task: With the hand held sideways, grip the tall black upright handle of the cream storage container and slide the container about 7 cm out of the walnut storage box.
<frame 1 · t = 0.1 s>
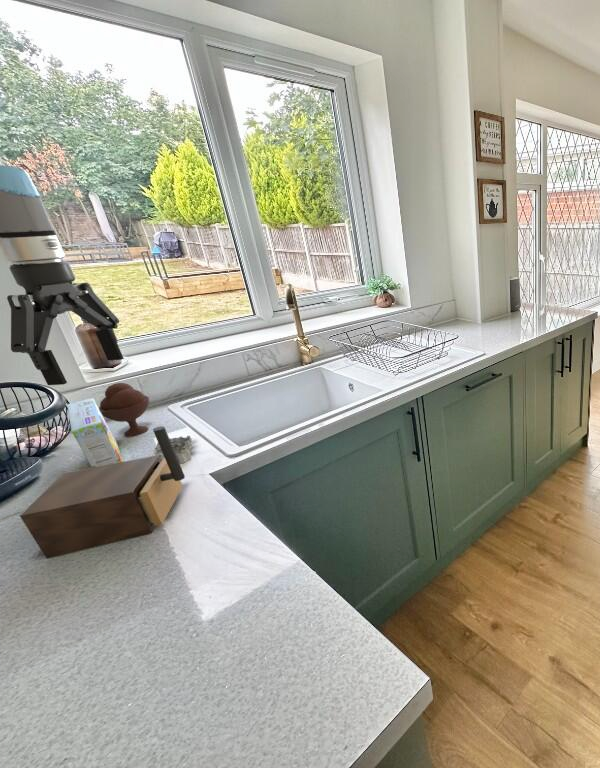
hand: (89, 371, 83), 29 cm above the worktop, tool pointing down, fingers open, 13 cm apart
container: (119, 476, 82), point 10 cm above the worktop, slide at 0.5 cm
snack box: (110, 465, 105), on the worktop
ice cream bowl: (136, 432, 121), on the worktop
storage box: (117, 522, 85), on the worktop
grey rock: (176, 457, 108), on the worktop
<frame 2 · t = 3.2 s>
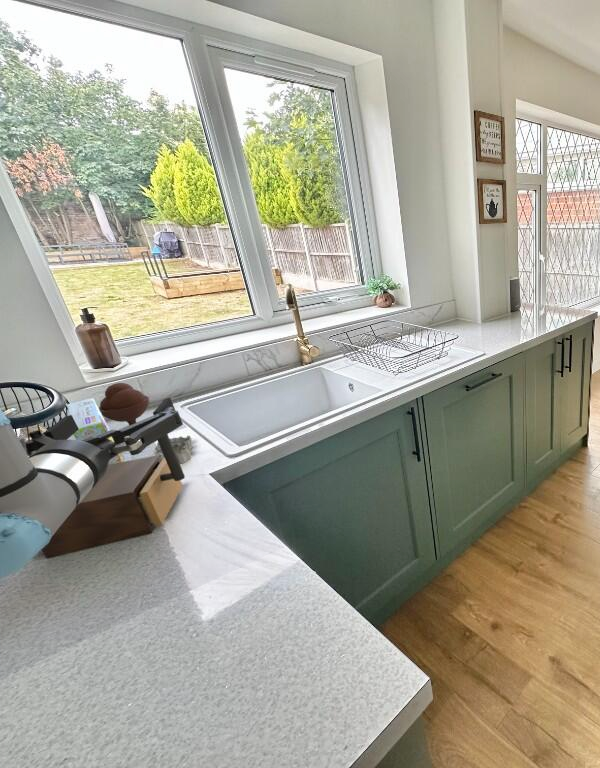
hand: (123, 413, 72), 26 cm above the worktop, tool horizontal, fingers open, 13 cm apart
nothing on the worktop moved.
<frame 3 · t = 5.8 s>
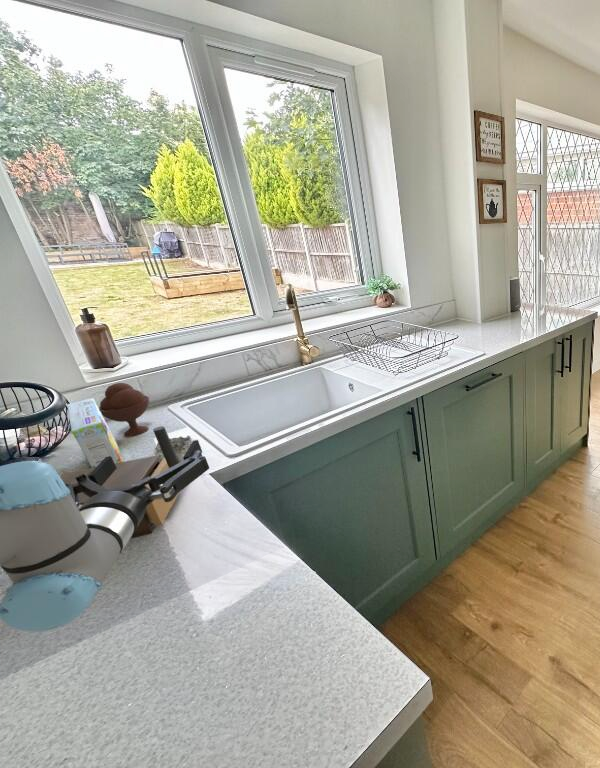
hand: (155, 454, 79), 16 cm above the worktop, tool horizontal, fingers open, 13 cm apart
nothing on the worktop moved.
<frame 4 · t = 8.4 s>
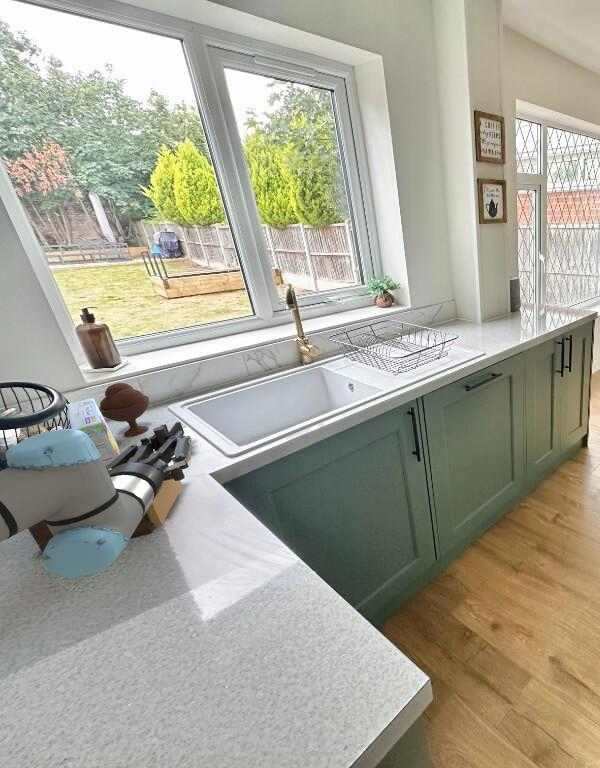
hand: (173, 429, 88), 16 cm above the worktop, tool horizontal, fingers closed on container, 2 cm apart
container: (119, 476, 82), point 10 cm above the worktop, slide at 0.5 cm, touching gripper
everything else where it was.
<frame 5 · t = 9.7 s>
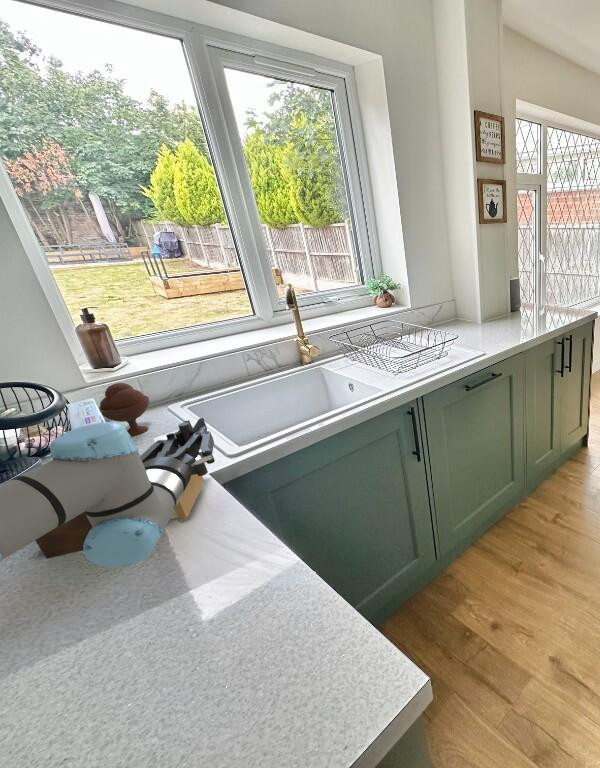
hand: (196, 425, 89), 16 cm above the worktop, tool horizontal, fingers closed on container, 2 cm apart
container: (145, 471, 84), point 10 cm above the worktop, slide at 4.7 cm, touching gripper
everything else where it was.
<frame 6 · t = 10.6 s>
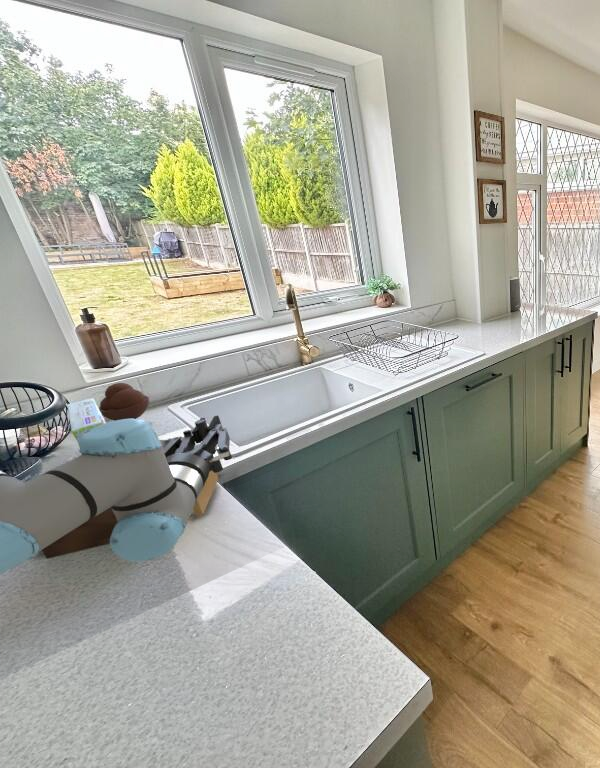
hand: (211, 422, 90), 16 cm above the worktop, tool horizontal, fingers closed on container, 2 cm apart
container: (162, 468, 85), point 10 cm above the worktop, slide at 7.4 cm, touching gripper
everything else where it was.
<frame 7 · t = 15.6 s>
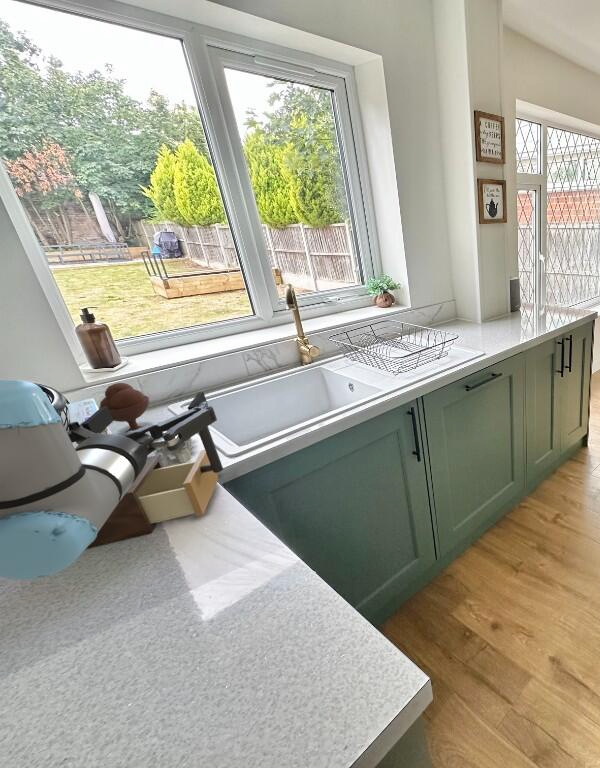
hand: (157, 406, 72), 27 cm above the worktop, tool horizontal, fingers open, 13 cm apart
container: (162, 468, 85), point 10 cm above the worktop, slide at 7.5 cm
everything else where it was.
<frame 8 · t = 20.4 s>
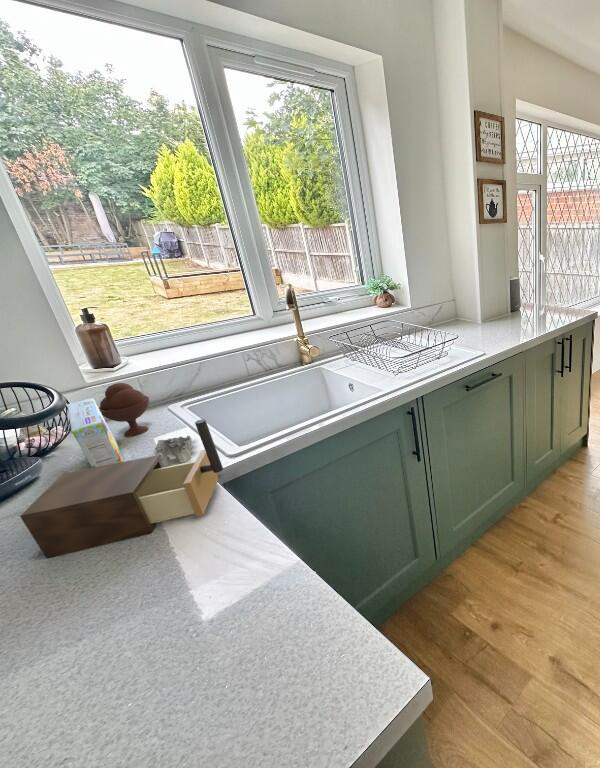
nothing on the worktop moved.
at the end: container slide at 7.5 cm; the gripper is holding nothing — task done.
